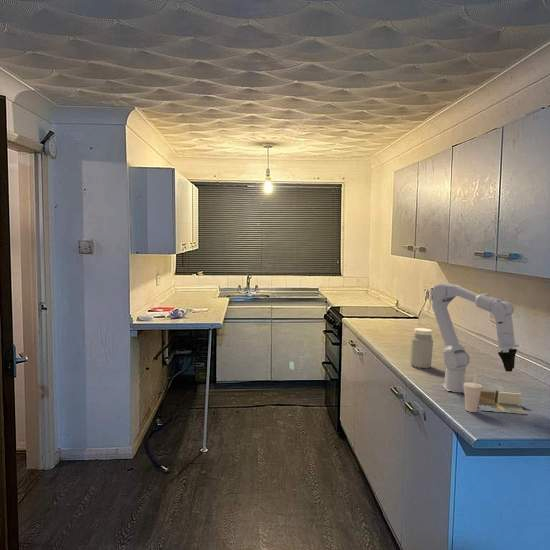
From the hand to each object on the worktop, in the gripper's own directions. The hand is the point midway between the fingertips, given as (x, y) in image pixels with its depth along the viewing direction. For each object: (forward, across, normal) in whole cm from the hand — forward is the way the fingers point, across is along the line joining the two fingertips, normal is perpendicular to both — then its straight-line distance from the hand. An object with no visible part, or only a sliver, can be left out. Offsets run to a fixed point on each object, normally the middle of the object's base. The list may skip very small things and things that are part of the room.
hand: (510, 369), depth 186 cm
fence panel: (+13, +3, +2) cm, 13 cm away
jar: (+2, +37, +43) cm, 57 cm away
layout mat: (+13, 0, +6) cm, 14 cm away
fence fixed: (+12, 0, +10) cm, 16 cm away
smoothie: (+13, -13, +13) cm, 23 cm away
